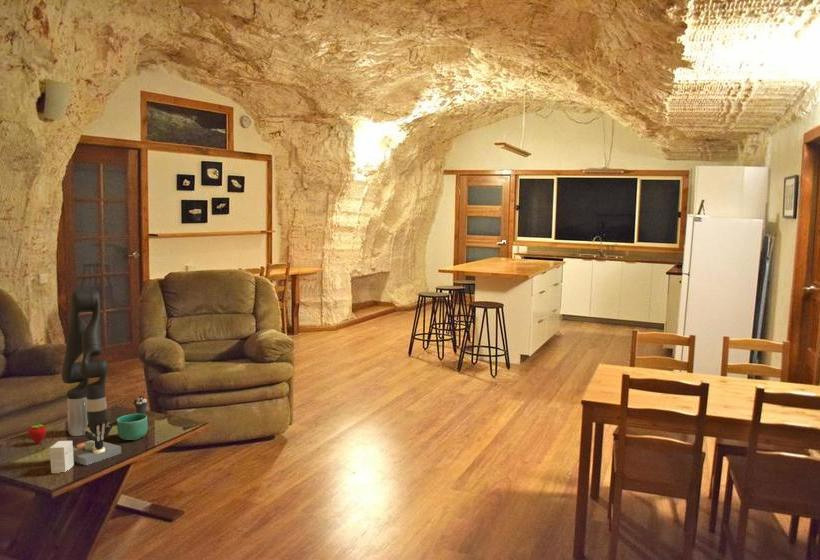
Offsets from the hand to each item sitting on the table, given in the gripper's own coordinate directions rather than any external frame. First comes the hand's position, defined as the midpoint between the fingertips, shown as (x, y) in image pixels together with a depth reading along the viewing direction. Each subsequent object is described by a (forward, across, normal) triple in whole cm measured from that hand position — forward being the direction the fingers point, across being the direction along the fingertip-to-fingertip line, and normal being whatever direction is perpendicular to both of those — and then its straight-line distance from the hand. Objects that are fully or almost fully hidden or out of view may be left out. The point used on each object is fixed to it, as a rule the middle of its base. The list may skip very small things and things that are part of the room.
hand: (99, 448), depth 271 cm
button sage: (+2, 0, -6) cm, 6 cm away
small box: (+4, +15, -2) cm, 16 cm away
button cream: (+4, 0, 0) cm, 4 cm away
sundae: (+4, -40, -25) cm, 47 cm away
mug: (+4, -24, -10) cm, 27 cm away
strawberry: (+4, +2, -40) cm, 41 cm away
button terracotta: (+3, 0, -11) cm, 12 cm away
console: (+4, 0, -6) cm, 7 cm away
